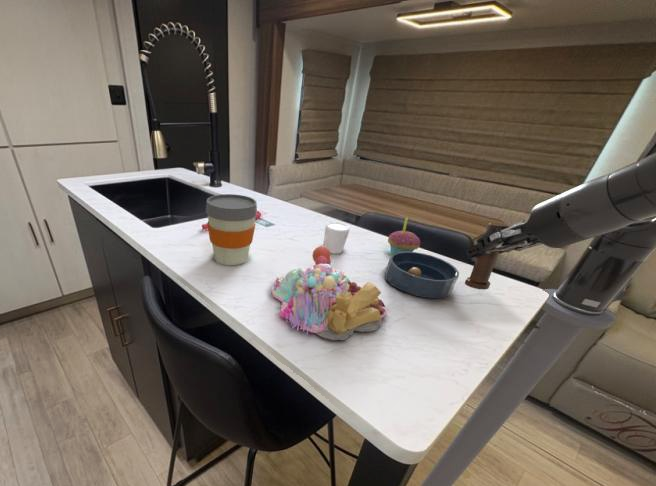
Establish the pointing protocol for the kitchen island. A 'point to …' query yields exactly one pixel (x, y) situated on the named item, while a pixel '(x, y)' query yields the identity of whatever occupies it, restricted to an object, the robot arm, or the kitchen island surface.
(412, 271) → the bead
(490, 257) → the brown flared cylinder
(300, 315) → the multicoloured low lumpy mound
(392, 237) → the cupcake
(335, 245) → the white short cylinder
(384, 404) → the kitchen island surface
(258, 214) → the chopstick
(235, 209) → the reusable coffee cup
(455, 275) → the bowl
